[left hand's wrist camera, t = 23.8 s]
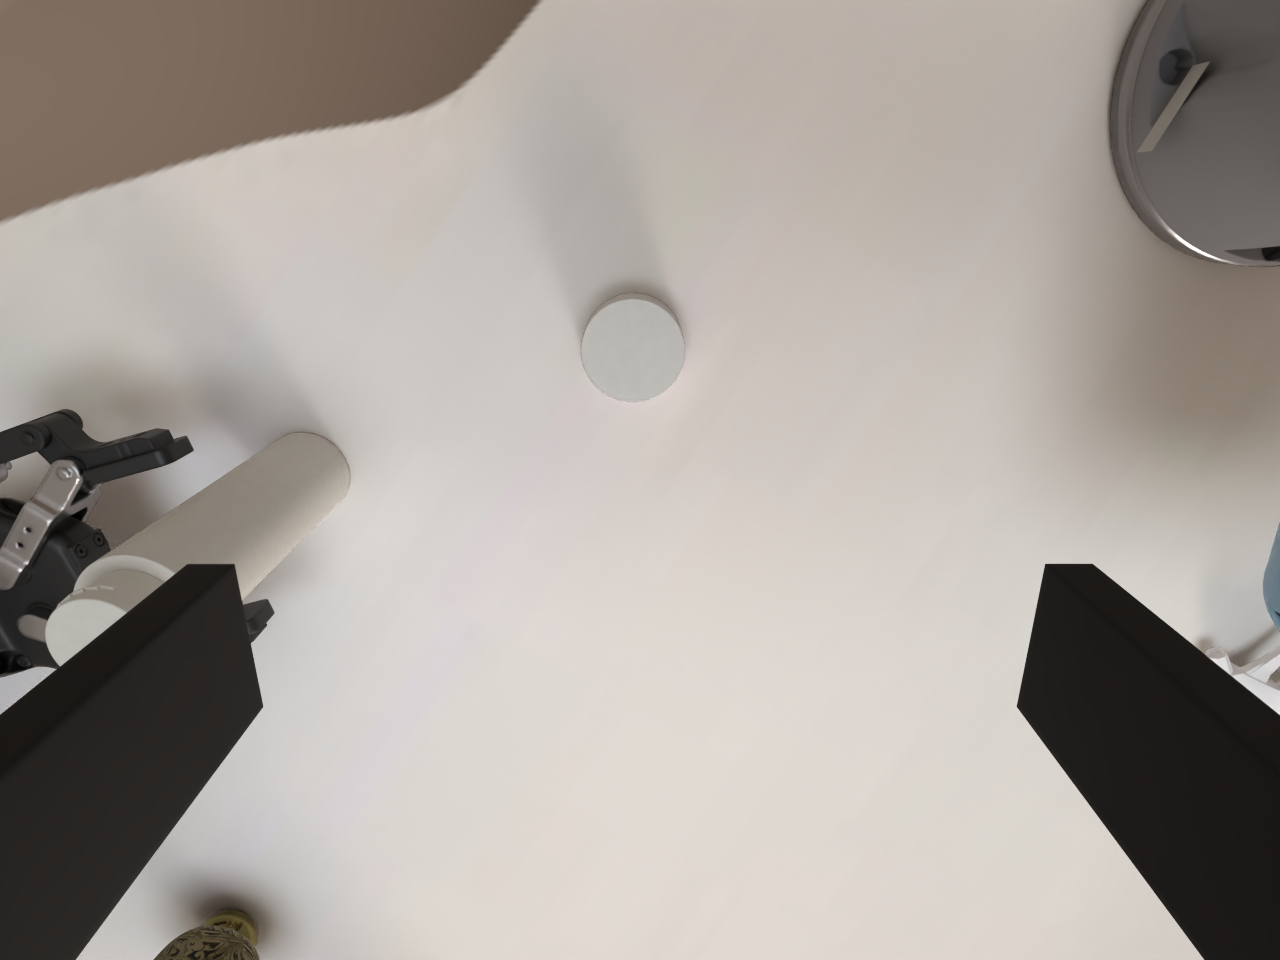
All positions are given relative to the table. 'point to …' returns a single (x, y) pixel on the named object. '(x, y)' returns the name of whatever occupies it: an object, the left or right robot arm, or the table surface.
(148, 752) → the left robot arm
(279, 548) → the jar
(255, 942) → the cup
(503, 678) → the table surface
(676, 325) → the lid
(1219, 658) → the spray bottle
